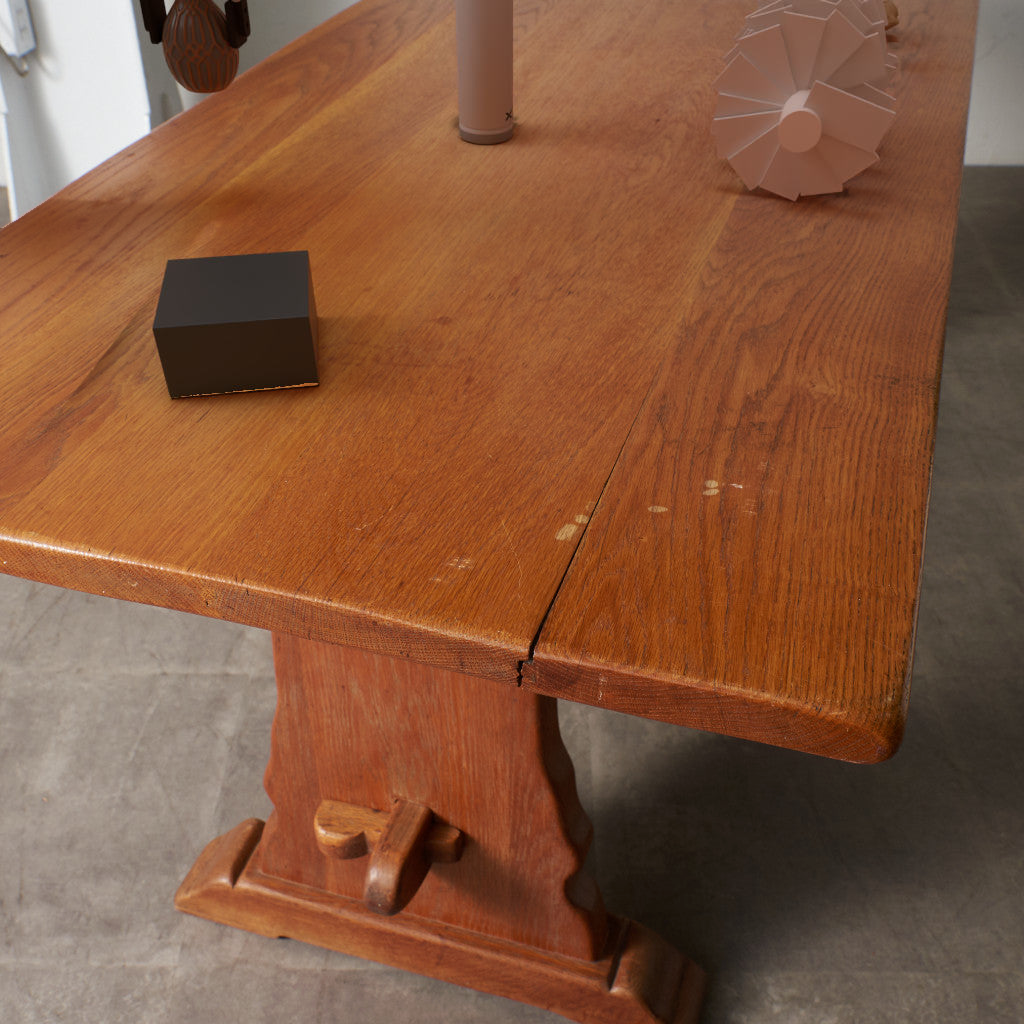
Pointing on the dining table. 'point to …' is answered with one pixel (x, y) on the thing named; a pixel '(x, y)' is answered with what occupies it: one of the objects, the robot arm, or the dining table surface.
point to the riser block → (237, 323)
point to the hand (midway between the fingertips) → (199, 41)
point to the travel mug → (485, 70)
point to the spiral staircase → (805, 95)
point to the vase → (199, 46)
